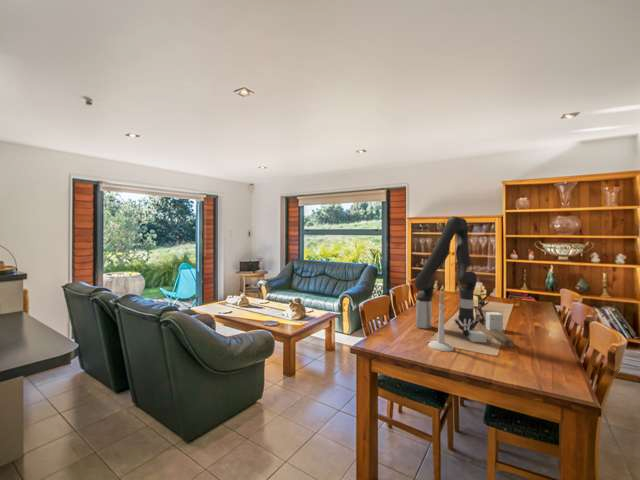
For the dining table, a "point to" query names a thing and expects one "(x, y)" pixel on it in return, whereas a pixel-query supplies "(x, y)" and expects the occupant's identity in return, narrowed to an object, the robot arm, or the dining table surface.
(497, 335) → the brown long bar
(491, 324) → the small box
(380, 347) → the dining table surface
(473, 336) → the block
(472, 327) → the robot arm
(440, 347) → the candlestick
